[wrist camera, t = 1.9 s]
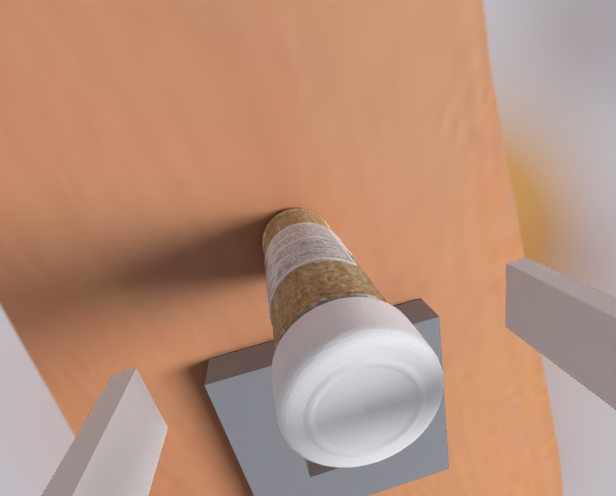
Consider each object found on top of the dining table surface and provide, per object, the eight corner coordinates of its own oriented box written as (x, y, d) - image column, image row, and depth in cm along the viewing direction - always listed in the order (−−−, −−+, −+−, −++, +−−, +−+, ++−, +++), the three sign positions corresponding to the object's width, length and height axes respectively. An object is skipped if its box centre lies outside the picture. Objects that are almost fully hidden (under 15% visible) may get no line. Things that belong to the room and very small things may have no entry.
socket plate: (209, 358, 22) (204, 385, 20) (420, 298, 24) (439, 316, 21) (267, 496, 28) (268, 528, 26) (433, 442, 30) (448, 468, 27)
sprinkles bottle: (326, 272, 22) (430, 467, 9) (259, 271, 21) (271, 485, 8) (334, 206, 20) (471, 333, 8) (261, 203, 19) (281, 339, 7)
